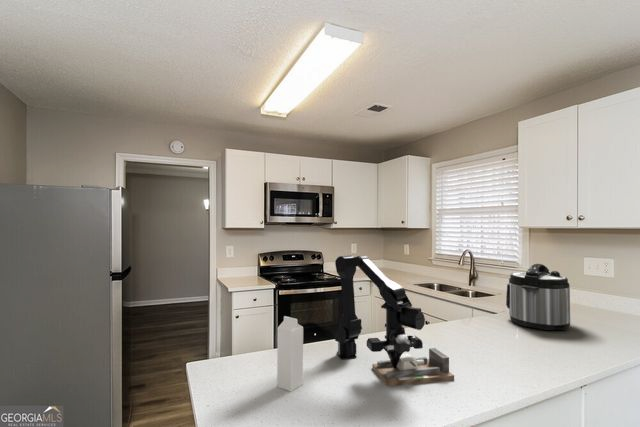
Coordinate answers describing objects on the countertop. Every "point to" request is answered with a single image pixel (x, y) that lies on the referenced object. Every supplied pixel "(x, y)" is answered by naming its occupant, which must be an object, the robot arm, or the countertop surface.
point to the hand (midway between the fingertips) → (394, 368)
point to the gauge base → (416, 370)
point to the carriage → (408, 362)
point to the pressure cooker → (539, 299)
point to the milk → (290, 354)
